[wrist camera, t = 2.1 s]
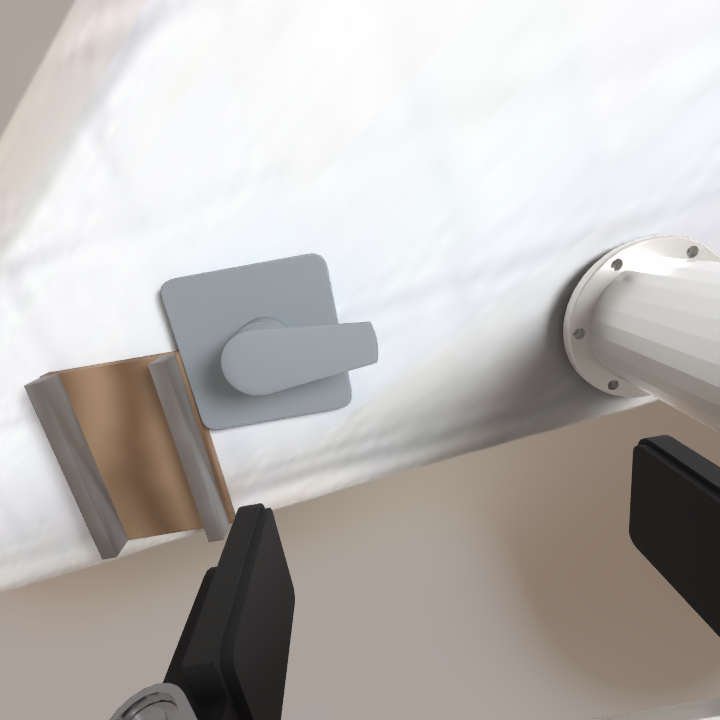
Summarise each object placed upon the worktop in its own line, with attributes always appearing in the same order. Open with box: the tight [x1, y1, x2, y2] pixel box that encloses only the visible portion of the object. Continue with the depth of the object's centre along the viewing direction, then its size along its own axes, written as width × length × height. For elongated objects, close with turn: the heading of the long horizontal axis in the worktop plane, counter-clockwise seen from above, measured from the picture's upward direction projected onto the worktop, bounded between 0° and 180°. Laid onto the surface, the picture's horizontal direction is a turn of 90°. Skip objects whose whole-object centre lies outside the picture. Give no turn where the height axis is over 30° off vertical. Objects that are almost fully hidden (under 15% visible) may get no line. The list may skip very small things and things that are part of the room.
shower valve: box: [161, 254, 378, 430], centre depth 30 cm, size 12×6×15 cm
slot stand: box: [24, 351, 236, 559], centre depth 33 cm, size 11×16×3 cm
